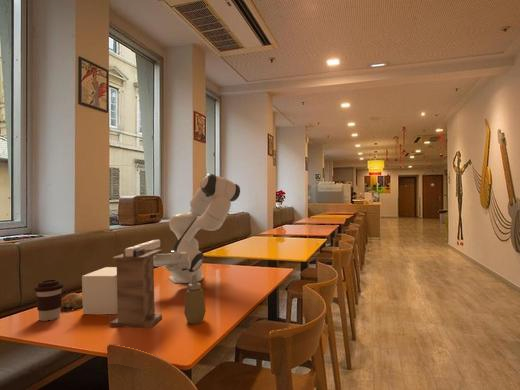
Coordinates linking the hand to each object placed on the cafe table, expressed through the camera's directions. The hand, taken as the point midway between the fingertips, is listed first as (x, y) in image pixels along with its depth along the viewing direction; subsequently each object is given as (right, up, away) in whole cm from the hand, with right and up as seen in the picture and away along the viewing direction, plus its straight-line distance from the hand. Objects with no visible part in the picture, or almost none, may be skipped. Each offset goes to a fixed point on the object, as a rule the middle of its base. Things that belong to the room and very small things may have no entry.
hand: (163, 252), depth 162 cm
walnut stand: (-2, -22, -26) cm, 34 cm away
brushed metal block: (-2, +4, -20) cm, 21 cm away
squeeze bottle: (+20, -21, -29) cm, 42 cm away
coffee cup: (-40, -23, -22) cm, 51 cm away
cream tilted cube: (-20, -22, -10) cm, 32 cm away
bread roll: (-38, -23, -8) cm, 46 cm away
